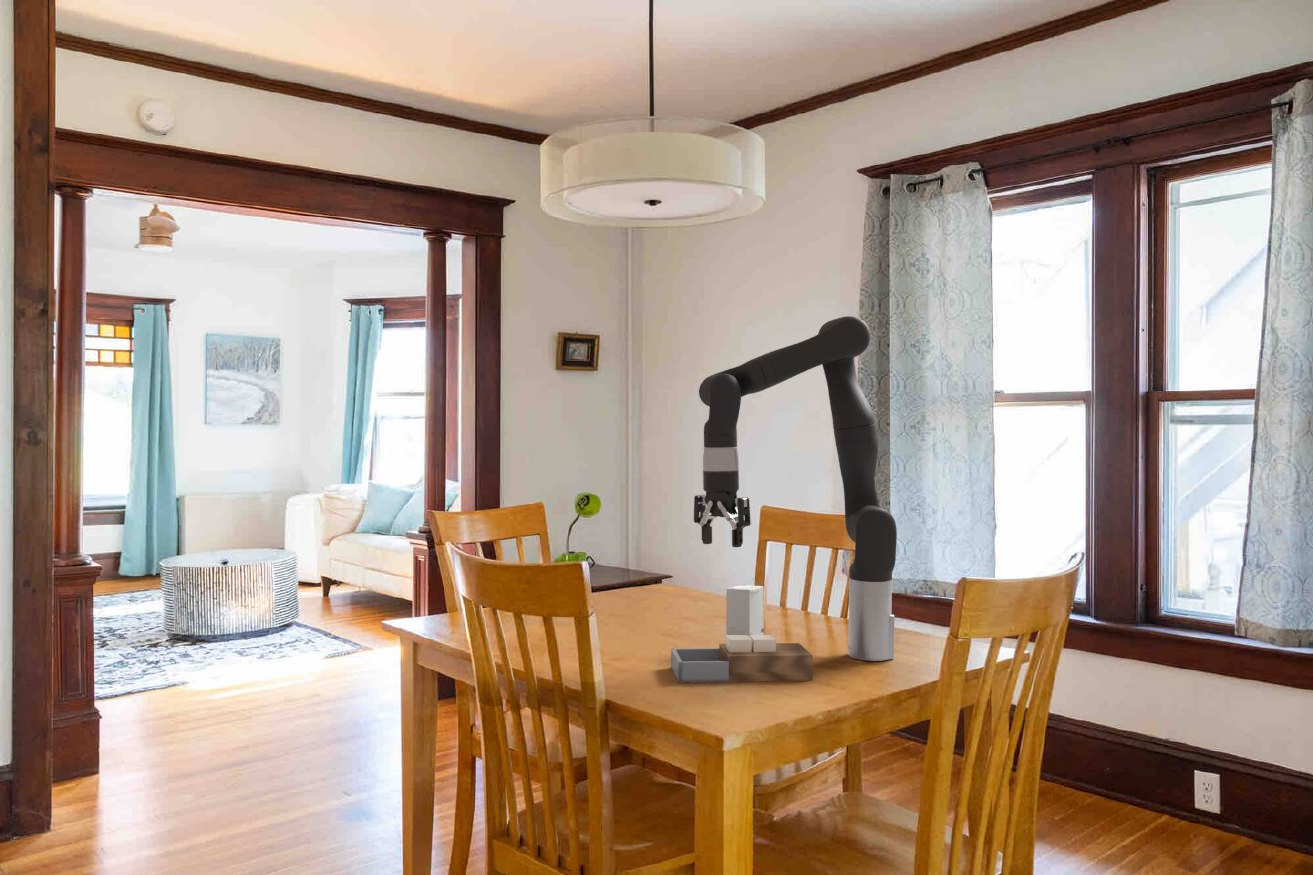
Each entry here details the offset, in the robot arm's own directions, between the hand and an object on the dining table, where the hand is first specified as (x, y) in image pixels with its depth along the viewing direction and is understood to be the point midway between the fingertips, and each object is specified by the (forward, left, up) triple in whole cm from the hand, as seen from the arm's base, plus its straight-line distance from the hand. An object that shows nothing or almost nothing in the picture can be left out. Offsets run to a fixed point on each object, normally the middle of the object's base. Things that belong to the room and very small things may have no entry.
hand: (721, 545), depth 201 cm
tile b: (-2, +8, -20) cm, 22 cm away
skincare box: (-7, -11, -26) cm, 29 cm away
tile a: (-7, +8, -20) cm, 23 cm away
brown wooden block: (-8, +8, -25) cm, 28 cm away
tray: (+6, +8, -25) cm, 27 cm away
